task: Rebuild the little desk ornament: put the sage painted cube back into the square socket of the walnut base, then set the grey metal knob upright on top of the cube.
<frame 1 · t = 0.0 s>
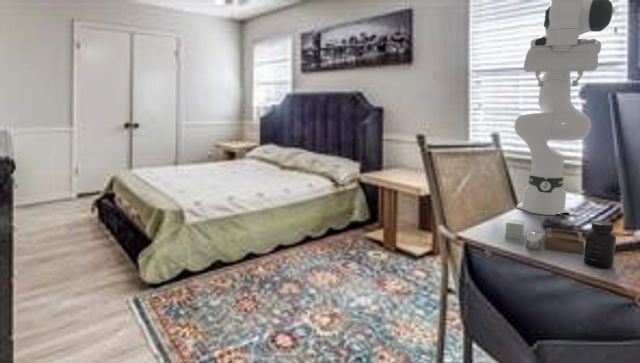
hand: (557, 86, 137), 48 cm above the table, tool pointing down, fingers open, 8 cm apart
sage cube: (514, 236, 143), on the table
supplement bottle: (597, 265, 120), on the table
walnut base: (563, 246, 134), on the table
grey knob: (533, 248, 132), on the table
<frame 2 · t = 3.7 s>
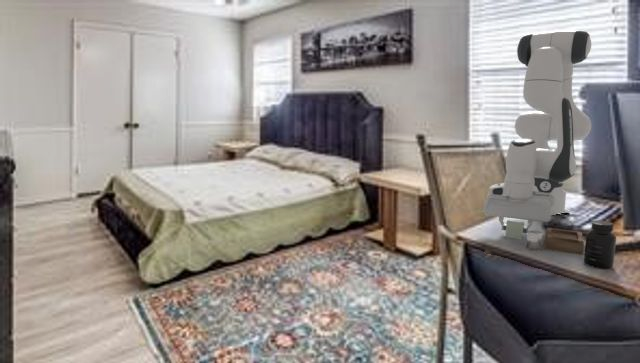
hand: (514, 231, 143), 2 cm above the table, tool pointing down, fingers closed on sage cube, 5 cm apart
sage cube: (514, 236, 143), on the table, touching gripper
everything else where it was.
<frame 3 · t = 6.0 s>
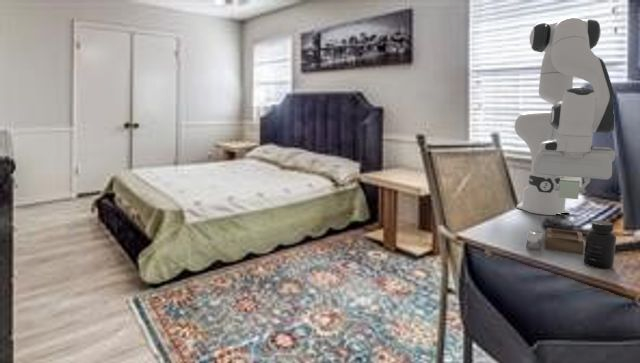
hand: (568, 191, 130), 17 cm above the table, tool pointing down, fingers closed on sage cube, 5 cm apart
sage cube: (567, 196, 131), point 16 cm above the table, touching gripper
everything else where it was.
when the fingers open (6 cm above the table, at t = 8.6 s): sage cube stays where it is, resting on walnut base.
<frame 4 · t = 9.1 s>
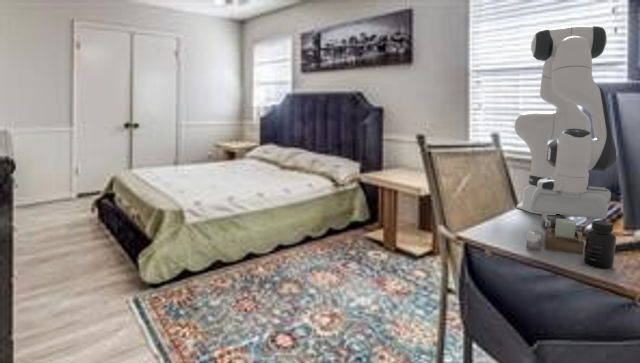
hand: (565, 228, 133), 6 cm above the table, tool pointing down, fingers open, 8 cm apart
sage cube: (564, 237, 133), point 3 cm above the table, touching walnut base
everything else where it was.
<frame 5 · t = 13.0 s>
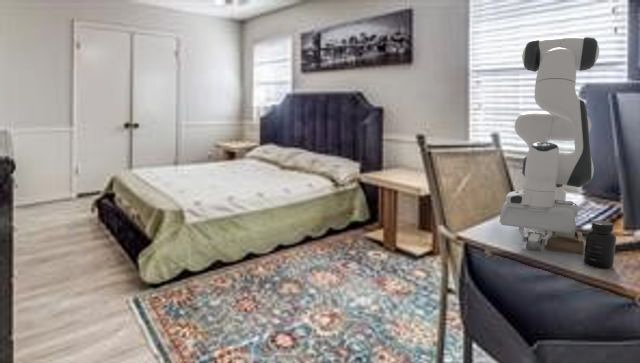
hand: (534, 242, 132), 2 cm above the table, tool pointing down, fingers closed on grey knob, 4 cm apart
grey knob: (533, 247, 132), on the table, touching gripper
everything else where it was.
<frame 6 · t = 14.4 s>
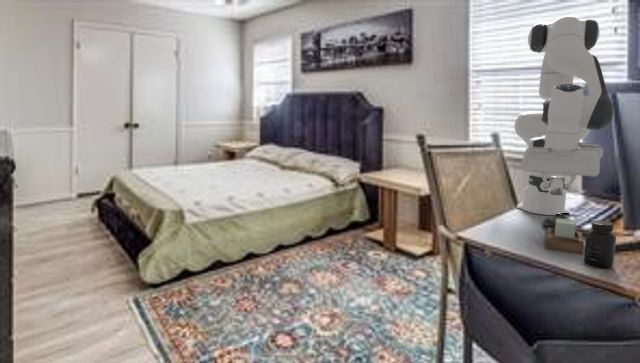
hand: (556, 188, 130), 18 cm above the table, tool pointing down, fingers closed on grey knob, 4 cm apart
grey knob: (555, 193, 130), point 17 cm above the table, touching gripper
everything else where it was.
when the fingers open (11 cm above the table, at t = 16.5 s): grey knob drops 1 cm, resting on sage cube.
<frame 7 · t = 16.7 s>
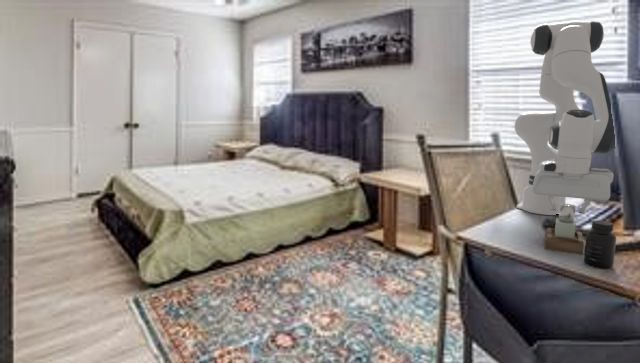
hand: (567, 211, 132), 11 cm above the table, tool pointing down, fingers open, 6 cm apart
sage cube: (563, 237, 133), point 3 cm above the table, touching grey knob, walnut base
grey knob: (566, 221, 132), point 8 cm above the table, touching sage cube
everything else where it was.
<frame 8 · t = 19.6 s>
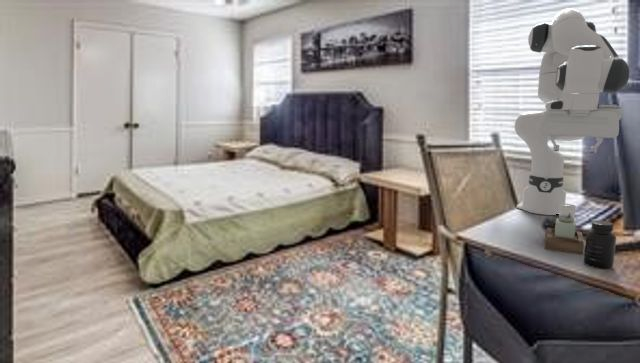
hand: (574, 151, 128), 29 cm above the table, tool pointing down, fingers open, 8 cm apart
nothing on the table moved.
at the end: sage cube 0.0 cm off-centre on the walnut base, point 3.0 cm above the walnut base's base; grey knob 0.1 cm off-centre on the sage cube, point 5.0 cm above the sage cube's base; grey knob tilted 0° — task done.
